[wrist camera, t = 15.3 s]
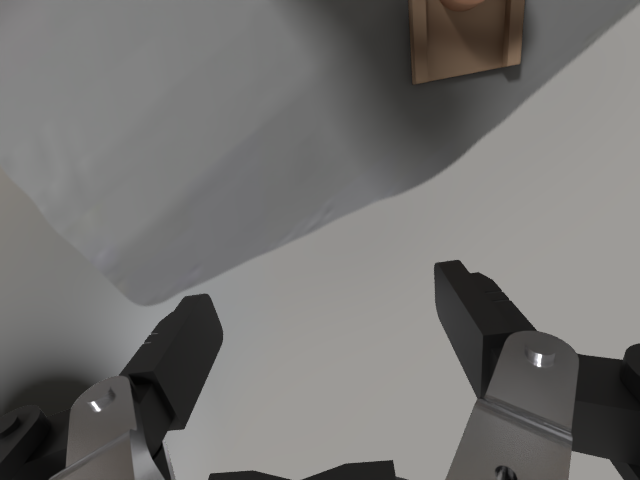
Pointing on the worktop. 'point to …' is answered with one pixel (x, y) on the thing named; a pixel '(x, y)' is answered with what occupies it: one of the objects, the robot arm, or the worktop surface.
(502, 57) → the lane
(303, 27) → the worktop surface
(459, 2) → the terracotta jar
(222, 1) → the worktop surface
